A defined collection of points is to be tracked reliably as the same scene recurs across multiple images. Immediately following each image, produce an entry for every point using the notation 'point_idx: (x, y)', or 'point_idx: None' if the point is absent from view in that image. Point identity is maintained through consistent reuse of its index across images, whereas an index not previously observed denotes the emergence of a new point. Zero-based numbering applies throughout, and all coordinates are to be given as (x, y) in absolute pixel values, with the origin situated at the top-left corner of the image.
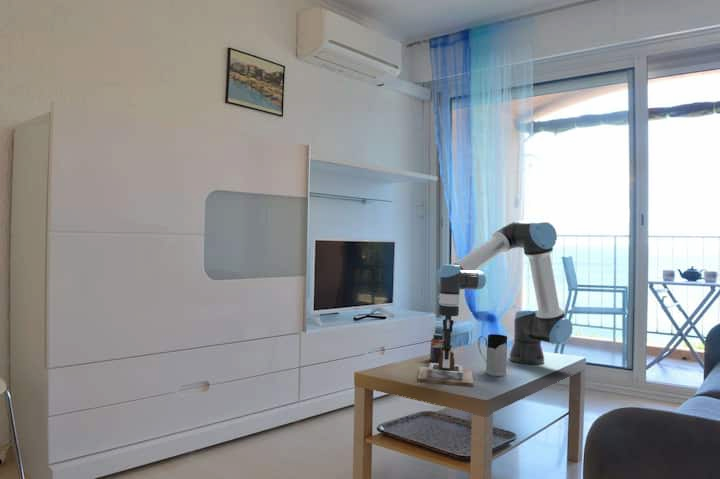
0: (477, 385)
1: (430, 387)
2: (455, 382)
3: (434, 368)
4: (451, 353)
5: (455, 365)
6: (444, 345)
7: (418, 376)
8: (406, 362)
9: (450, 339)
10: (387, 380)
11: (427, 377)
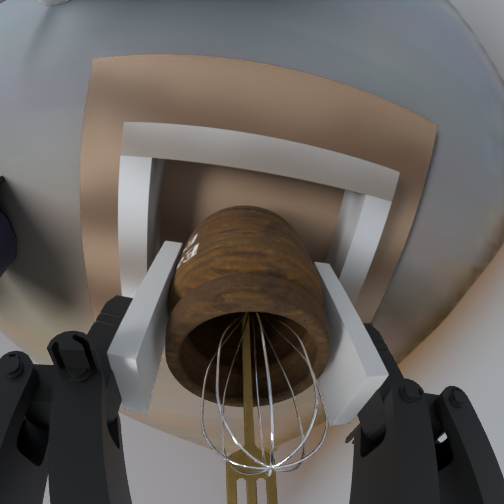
0: (403, 88)
1: (421, 320)
2: (410, 218)
3: None
4: (321, 330)
5: (133, 180)
6: (438, 452)
7: None
8: (33, 352)
9: (501, 475)
10: (322, 420)
11: None
